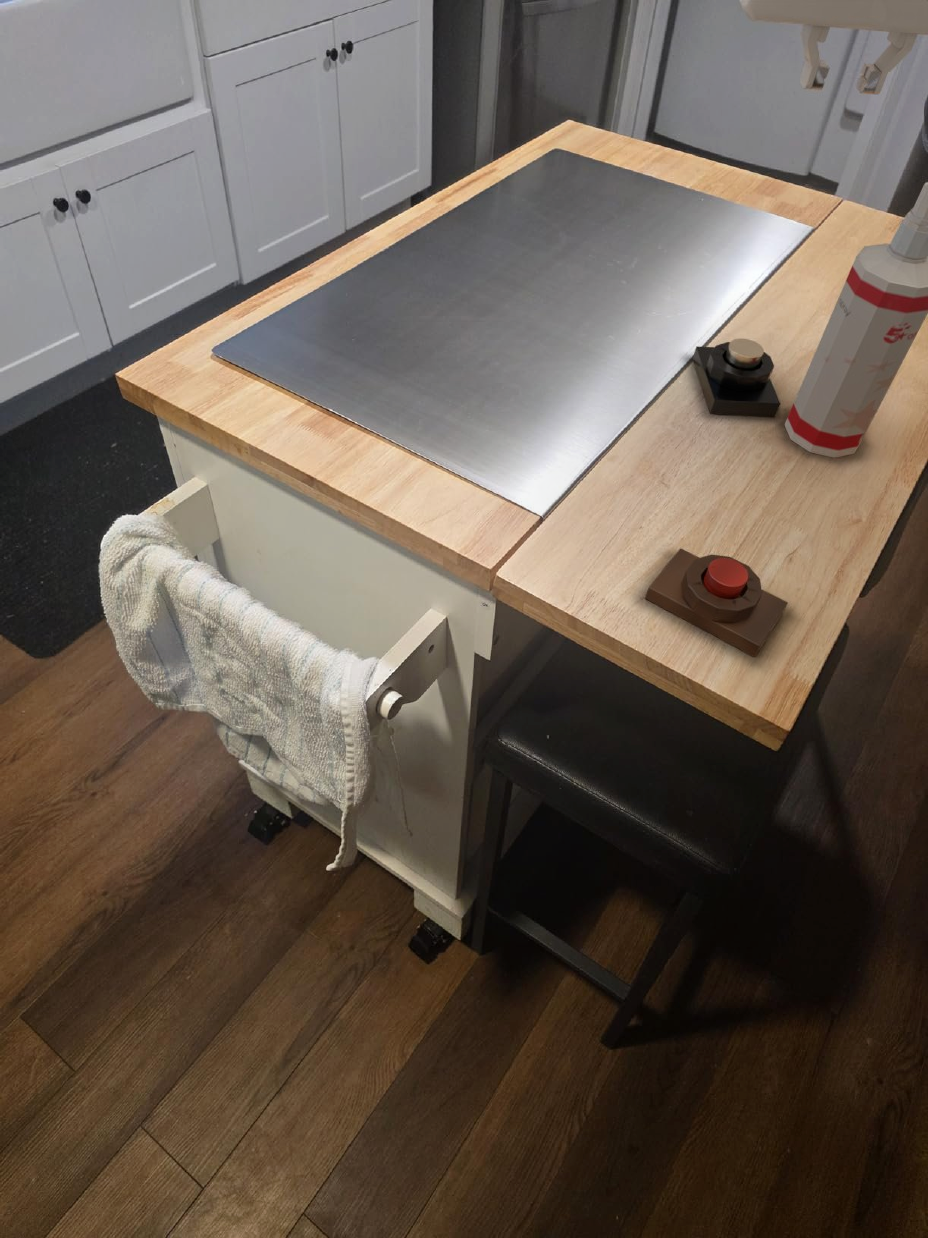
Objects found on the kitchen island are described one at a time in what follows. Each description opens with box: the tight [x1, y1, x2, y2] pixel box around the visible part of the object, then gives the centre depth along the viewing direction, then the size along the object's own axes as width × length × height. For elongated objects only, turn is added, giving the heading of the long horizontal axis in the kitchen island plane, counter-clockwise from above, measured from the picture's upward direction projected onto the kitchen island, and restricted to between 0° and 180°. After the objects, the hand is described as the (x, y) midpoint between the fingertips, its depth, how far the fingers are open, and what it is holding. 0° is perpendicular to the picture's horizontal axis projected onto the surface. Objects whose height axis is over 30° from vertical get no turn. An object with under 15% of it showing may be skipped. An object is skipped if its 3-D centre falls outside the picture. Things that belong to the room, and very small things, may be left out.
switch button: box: [724, 337, 765, 371], centre depth 91 cm, size 4×4×2 cm
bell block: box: [644, 547, 789, 657], centre depth 72 cm, size 10×6×3 cm, turn 54°
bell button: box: [704, 558, 748, 599], centre depth 71 cm, size 3×3×2 cm
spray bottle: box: [784, 181, 928, 459], centre depth 81 cm, size 8×8×25 cm
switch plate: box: [691, 341, 781, 418], centre depth 93 cm, size 7×10×4 cm
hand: (838, 89), depth 72 cm, fingers open, 3 cm apart
